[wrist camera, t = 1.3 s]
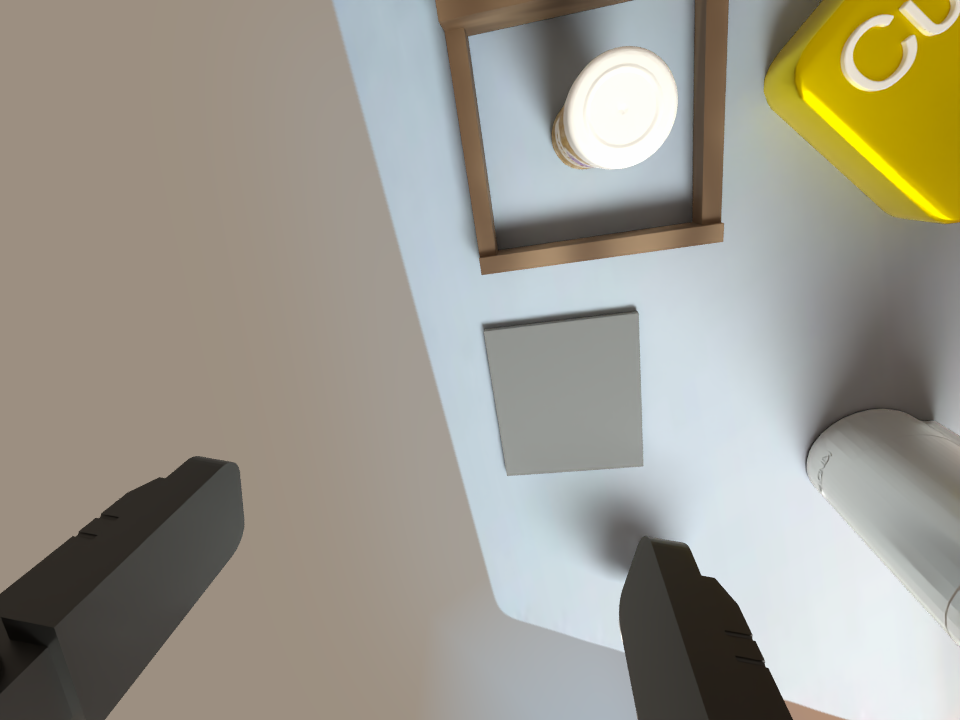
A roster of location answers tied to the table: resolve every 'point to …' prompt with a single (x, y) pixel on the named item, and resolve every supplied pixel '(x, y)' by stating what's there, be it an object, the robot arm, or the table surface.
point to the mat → (568, 393)
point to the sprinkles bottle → (616, 111)
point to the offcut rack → (506, 3)
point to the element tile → (879, 99)
